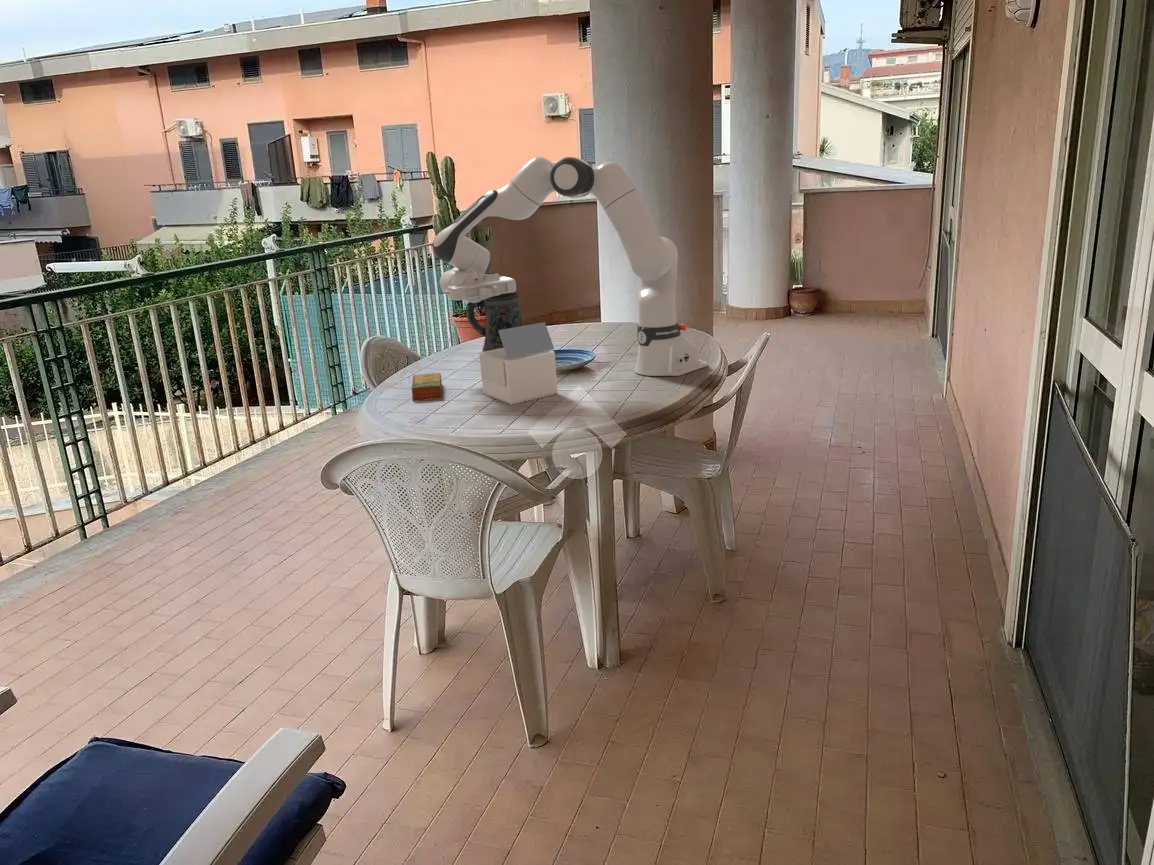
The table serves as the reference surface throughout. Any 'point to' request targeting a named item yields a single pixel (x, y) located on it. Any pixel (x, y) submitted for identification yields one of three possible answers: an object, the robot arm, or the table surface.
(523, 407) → the table surface
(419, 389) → the carton
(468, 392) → the table surface
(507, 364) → the shipping box
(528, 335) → the flap
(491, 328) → the beer stein
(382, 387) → the table surface
